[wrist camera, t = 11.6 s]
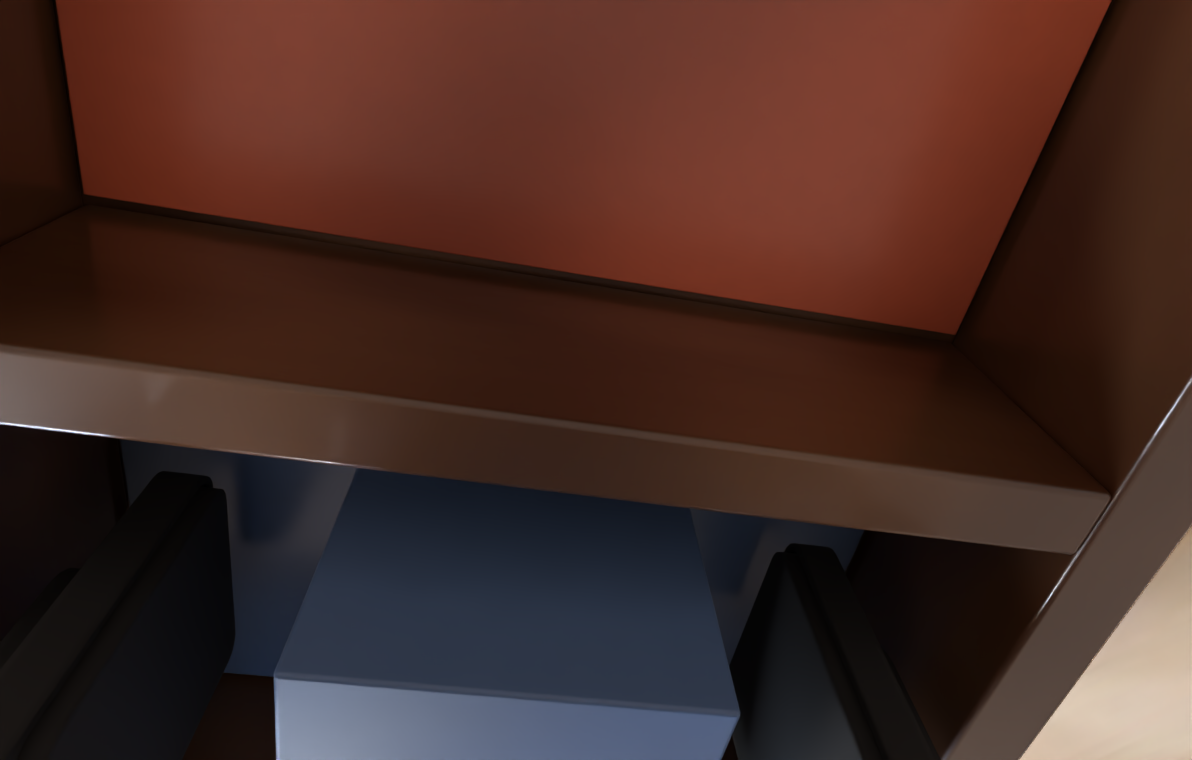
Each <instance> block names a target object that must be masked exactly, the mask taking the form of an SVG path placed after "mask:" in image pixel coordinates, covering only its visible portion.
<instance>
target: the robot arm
mask: <svg viewBox="0 0 1192 760" xmlns="http://www.w3.org/2000/svg"><path fill="white" fill-rule="evenodd" d="M234 642H235V615H234V601H233V586H232V571H231V557H230V542H229V527H228V513H227V498H226V493H225V491H224V490H223V489H219V488H213V482H212V480H211V478H210V477H208V476H204V475H196V474H187V473H178V472H170V471H161V472H158V473H157V474H156V475H155V476H154V477H153V478H152V480H151V481H150V482H149V483H148V485H147V486H146V487H145V488H144V490H143V491H142V492H141V493H140V495H139V496H138V497H137V498H136V500H135V501H134V502H133V503H132V505H131V506H130V507H129V508H128V510H127V511H126V512H125V513H124V515H123V516H122V517H121V518H120V520H119V521H118V522H117V524H116V525H115V526H114V527H113V529H112V530H111V531H110V532H109V534H108V535H107V536H106V537H105V539H104V540H103V541H102V542H101V544H100V545H99V546H98V547H97V549H96V550H95V551H94V552H93V554H92V555H91V556H90V557H89V559H88V560H87V561H86V563H85V564H84V565H83V566H82V568H68V569H66V570H64V571H62V572H60V573H59V574H58V575H57V576H56V577H55V578H54V579H53V580H52V581H51V582H50V583H49V584H48V585H47V586H46V587H45V589H44V590H43V591H42V592H41V593H40V595H39V596H38V597H37V598H36V599H35V601H34V602H33V603H32V604H31V606H30V607H29V608H28V609H27V610H26V612H25V613H24V614H23V615H22V616H21V618H20V619H19V620H18V621H17V622H16V624H15V625H14V626H13V627H12V628H11V630H10V631H9V632H8V633H7V635H6V636H5V637H4V638H3V639H2V641H1V642H0V760H182V759H183V757H184V754H185V752H186V750H187V748H188V746H189V744H190V742H191V740H192V738H193V735H194V733H195V731H196V729H197V727H198V725H199V723H200V721H201V719H202V716H203V714H204V712H205V710H206V708H207V706H208V704H209V702H210V700H211V697H212V695H213V693H214V691H215V689H216V687H217V685H218V683H219V681H220V679H221V676H222V674H223V672H224V670H225V668H226V666H227V664H228V662H229V659H230V657H231V654H232V650H233V647H234ZM729 669H730V673H731V677H732V681H733V685H734V689H735V693H736V697H737V701H738V705H739V709H740V718H739V720H738V722H737V725H736V727H735V729H734V732H733V734H732V736H733V741H734V745H735V749H736V753H737V758H738V760H941V759H940V757H939V755H938V753H937V751H936V749H935V747H934V745H933V743H932V741H931V739H930V737H929V735H928V733H927V731H926V729H925V727H924V724H923V722H922V720H921V718H920V716H919V714H918V712H917V710H916V708H915V706H914V704H913V702H912V700H911V698H910V696H909V694H908V692H907V690H906V688H905V686H904V684H903V682H902V680H901V677H900V675H899V673H898V671H897V669H896V667H895V665H894V663H893V661H892V660H891V658H890V657H889V655H888V654H887V652H886V651H885V650H883V649H882V648H881V646H880V644H879V642H878V640H877V638H876V636H875V634H874V632H873V630H872V627H871V625H870V623H869V621H868V619H867V617H866V615H865V613H864V611H863V609H862V607H861V605H860V603H859V601H858V598H857V596H856V594H855V592H854V590H853V588H852V586H851V584H850V582H849V580H848V578H847V576H846V574H845V572H844V569H843V567H842V565H841V563H840V561H839V559H838V557H837V555H836V553H835V552H834V550H833V549H831V548H829V547H824V546H815V545H806V544H797V543H791V544H789V545H788V546H787V547H786V549H785V551H784V552H776V553H775V554H774V555H773V557H772V559H771V562H770V564H769V567H768V569H767V572H766V574H765V577H764V579H763V582H762V584H761V587H760V590H759V592H758V595H757V597H756V600H755V602H754V605H753V607H752V610H751V612H750V615H749V617H748V620H747V622H746V625H745V627H744V630H743V632H742V635H741V637H740V640H739V642H738V645H737V647H736V650H735V652H734V655H733V657H732V660H731V663H730V665H729Z"/></svg>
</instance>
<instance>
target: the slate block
mask: <svg viewBox="0 0 1192 760" xmlns="http://www.w3.org/2000/svg"><path fill="white" fill-rule="evenodd" d="M274 703H275V734H276V760H722V757H723V755H724V753H725V750H726V748H727V746H728V743H729V741H730V739H731V736H732V734H733V732H734V729H735V727H736V725H737V722H738V720H739V718H740V709H739V705H738V701H737V697H736V693H735V689H734V685H733V681H732V677H731V673H730V669H729V665H728V660H727V656H726V652H725V648H724V644H723V640H722V636H721V632H720V628H719V624H718V620H717V616H716V612H715V608H714V604H713V600H712V596H711V592H710V587H709V583H708V579H707V575H706V571H705V567H704V563H703V559H702V555H701V551H700V547H699V543H698V539H697V535H696V531H695V527H694V523H693V518H692V514H691V510H690V509H689V508H681V507H673V506H665V505H657V504H648V503H640V502H632V501H624V500H616V499H607V498H599V497H591V496H583V495H575V494H566V493H558V492H550V491H542V490H534V489H525V488H517V487H509V486H501V485H493V484H485V483H476V482H468V481H460V480H452V479H444V478H435V477H427V476H419V475H411V474H403V473H394V472H386V471H378V470H370V469H362V468H357V469H356V472H355V474H354V477H353V479H352V482H351V484H350V487H349V489H348V492H347V494H346V496H345V499H344V501H343V504H342V506H341V509H340V511H339V514H338V516H337V519H336V521H335V524H334V526H333V529H332V531H331V533H330V536H329V538H328V541H327V543H326V546H325V548H324V551H323V553H322V556H321V558H320V561H319V563H318V565H317V568H316V570H315V573H314V575H313V578H312V580H311V583H310V585H309V588H308V590H307V593H306V595H305V598H304V600H303V602H302V605H301V607H300V610H299V612H298V615H297V617H296V620H295V622H294V625H293V627H292V630H291V632H290V634H289V637H288V639H287V642H286V644H285V647H284V649H283V652H282V654H281V657H280V659H279V662H278V664H277V667H276V669H275V671H274Z"/></svg>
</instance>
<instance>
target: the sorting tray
mask: <svg viewBox="0 0 1192 760" xmlns="http://www.w3.org/2000/svg"><path fill="white" fill-rule="evenodd" d="M357 468H362V469H370V470H378V471H386V472H394V473H403V474H411V475H419V476H427V477H435V478H444V479H452V480H460V481H468V482H476V483H485V484H493V485H501V486H509V487H517V488H525V489H534V490H542V491H550V492H558V493H566V494H575V495H583V496H591V497H599V498H607V499H616V500H624V501H632V502H640V503H648V504H657V505H665V506H673V507H681V508H689V509H690V510H691V514H692V518H693V523H694V527H695V531H696V535H697V539H698V543H699V547H700V551H701V555H702V559H703V563H704V567H705V571H706V575H707V579H708V583H709V587H710V592H711V596H712V600H713V604H714V608H715V612H716V616H717V620H718V624H719V628H720V632H721V636H722V640H723V644H724V648H725V652H726V656H727V660H728V665H730V663H731V660H732V657H733V655H734V652H735V650H736V647H737V645H738V642H739V640H740V637H741V635H742V632H743V630H744V627H745V625H746V622H747V620H748V617H749V615H750V612H751V610H752V607H753V605H754V602H755V600H756V597H757V595H758V592H759V590H760V587H761V584H762V582H763V579H764V577H765V574H766V572H767V569H768V567H769V564H770V562H771V559H772V557H773V555H774V554H775V553H776V552H784V551H785V549H786V547H787V546H788V545H789V544H791V543H797V544H806V545H815V546H824V547H829V548H831V549H833V550H834V552H835V553H836V555H837V557H838V559H839V561H840V563H841V565H842V567H843V569H844V572H845V574H846V576H847V578H848V580H849V582H850V584H851V586H852V588H853V590H854V592H855V594H856V596H857V598H858V601H859V603H860V605H861V607H862V609H863V611H864V613H865V615H866V617H867V619H868V621H869V623H870V625H871V627H872V630H873V632H874V634H875V636H876V638H877V640H878V642H879V644H880V646H881V648H882V649H883V650H885V651H886V652H887V654H888V655H889V657H890V658H891V660H892V661H893V663H894V665H895V667H896V669H897V671H898V673H899V675H900V677H901V680H902V682H903V684H904V686H905V688H906V690H907V692H908V694H909V696H910V698H911V700H912V702H913V704H914V706H915V708H916V710H917V712H918V714H919V716H920V718H921V720H922V722H923V724H924V727H925V729H926V731H927V733H928V735H929V737H930V739H931V741H932V743H933V745H934V747H935V749H936V751H937V753H938V755H939V757H940V759H941V760H1020V758H1021V757H1022V755H1023V754H1024V753H1025V751H1026V750H1027V749H1028V747H1029V746H1030V745H1031V743H1032V742H1033V741H1034V739H1035V738H1036V736H1037V735H1038V734H1039V732H1040V731H1041V730H1042V728H1043V727H1044V726H1045V724H1046V723H1047V722H1048V720H1049V719H1050V717H1051V716H1052V715H1053V713H1054V712H1055V711H1056V709H1057V708H1058V707H1059V705H1060V704H1061V703H1062V701H1063V700H1064V699H1065V697H1066V696H1067V694H1068V693H1069V692H1070V690H1071V689H1072V688H1073V686H1074V685H1075V684H1076V682H1077V681H1078V680H1079V678H1080V677H1081V675H1082V674H1083V673H1084V671H1085V670H1086V669H1087V667H1088V666H1089V665H1090V663H1091V662H1092V661H1093V659H1094V658H1095V656H1096V655H1097V654H1098V652H1099V651H1100V650H1101V648H1102V647H1103V646H1104V644H1105V643H1106V642H1107V640H1108V639H1109V637H1110V636H1111V635H1112V633H1113V632H1114V631H1115V629H1116V628H1117V627H1118V625H1119V624H1120V623H1121V621H1122V620H1123V618H1124V617H1125V616H1126V614H1127V613H1128V612H1129V610H1130V609H1131V608H1132V606H1133V605H1134V604H1135V602H1136V601H1137V600H1138V598H1139V597H1140V595H1141V594H1142V593H1143V591H1144V590H1145V589H1146V587H1147V586H1148V585H1149V583H1150V582H1151V581H1152V579H1153V578H1154V576H1155V575H1156V574H1157V572H1158V571H1159V570H1160V568H1161V567H1162V566H1163V564H1164V563H1165V562H1166V560H1167V559H1168V557H1169V556H1170V555H1171V553H1172V552H1173V551H1174V549H1175V548H1176V547H1177V545H1178V544H1179V543H1180V541H1181V540H1182V538H1183V537H1184V536H1185V534H1186V533H1187V532H1188V530H1189V529H1190V528H1191V526H1192V0H0V642H1V641H2V639H3V638H4V637H5V636H6V635H7V633H8V632H9V631H10V630H11V628H12V627H13V626H14V625H15V624H16V622H17V621H18V620H19V619H20V618H21V616H22V615H23V614H24V613H25V612H26V610H27V609H28V608H29V607H30V606H31V604H32V603H33V602H34V601H35V599H36V598H37V597H38V596H39V595H40V593H41V592H42V591H43V590H44V589H45V587H46V586H47V585H48V584H49V583H50V582H51V581H52V580H53V579H54V578H55V577H56V576H57V575H58V574H59V573H60V572H62V571H64V570H66V569H68V568H82V566H83V565H84V564H85V563H86V561H87V560H88V559H89V557H90V556H91V555H92V554H93V552H94V551H95V550H96V549H97V547H98V546H99V545H100V544H101V542H102V541H103V540H104V539H105V537H106V536H107V535H108V534H109V532H110V531H111V530H112V529H113V527H114V526H115V525H116V524H117V522H118V521H119V520H120V518H121V517H122V516H123V515H124V513H125V512H126V511H127V510H128V508H129V507H130V506H131V505H132V503H133V502H134V501H135V500H136V498H137V497H138V496H139V495H140V493H141V492H142V491H143V490H144V488H145V487H146V486H147V485H148V483H149V482H150V481H151V480H152V478H153V477H154V476H155V475H156V474H157V473H158V472H161V471H170V472H178V473H187V474H196V475H204V476H208V477H210V478H211V480H212V482H213V488H219V489H223V490H224V491H225V493H226V498H227V513H228V527H229V542H230V557H231V571H232V586H233V601H234V615H235V642H234V647H233V650H232V654H231V657H230V659H229V662H228V664H227V666H226V668H225V670H224V672H223V674H222V676H221V679H220V681H219V683H218V685H217V687H216V689H215V691H214V693H213V695H212V697H211V700H210V702H209V704H208V706H207V708H206V710H205V712H204V714H203V716H202V719H201V721H200V723H199V725H198V727H197V729H196V731H195V733H194V735H193V738H192V740H191V742H190V744H189V746H188V748H187V750H186V752H185V754H184V757H183V759H182V760H276V734H275V703H274V671H275V669H276V667H277V664H278V662H279V659H280V657H281V654H282V652H283V649H284V647H285V644H286V642H287V639H288V637H289V634H290V632H291V630H292V627H293V625H294V622H295V620H296V617H297V615H298V612H299V610H300V607H301V605H302V602H303V600H304V598H305V595H306V593H307V590H308V588H309V585H310V583H311V580H312V578H313V575H314V573H315V570H316V568H317V565H318V563H319V561H320V558H321V556H322V553H323V551H324V548H325V546H326V543H327V541H328V538H329V536H330V533H331V531H332V529H333V526H334V524H335V521H336V519H337V516H338V514H339V511H340V509H341V506H342V504H343V501H344V499H345V496H346V494H347V492H348V489H349V487H350V484H351V482H352V479H353V477H354V474H355V472H356V469H357ZM722 760H738V758H737V753H736V749H735V745H734V741H733V736H731V739H730V741H729V743H728V746H727V748H726V750H725V753H724V755H723V757H722Z"/></svg>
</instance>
